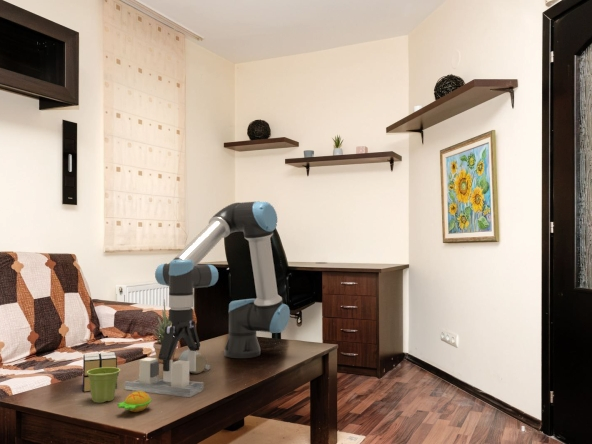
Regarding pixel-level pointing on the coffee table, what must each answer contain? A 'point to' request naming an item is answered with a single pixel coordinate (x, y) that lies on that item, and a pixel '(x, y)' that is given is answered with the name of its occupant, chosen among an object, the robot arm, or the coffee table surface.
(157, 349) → the potted plant
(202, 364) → the ceramic mug
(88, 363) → the puzzle cube
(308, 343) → the coffee table surface
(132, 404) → the yellow green oval
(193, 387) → the rail
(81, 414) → the coffee table surface
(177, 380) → the beige jaw block
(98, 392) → the plant pot
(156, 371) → the block
